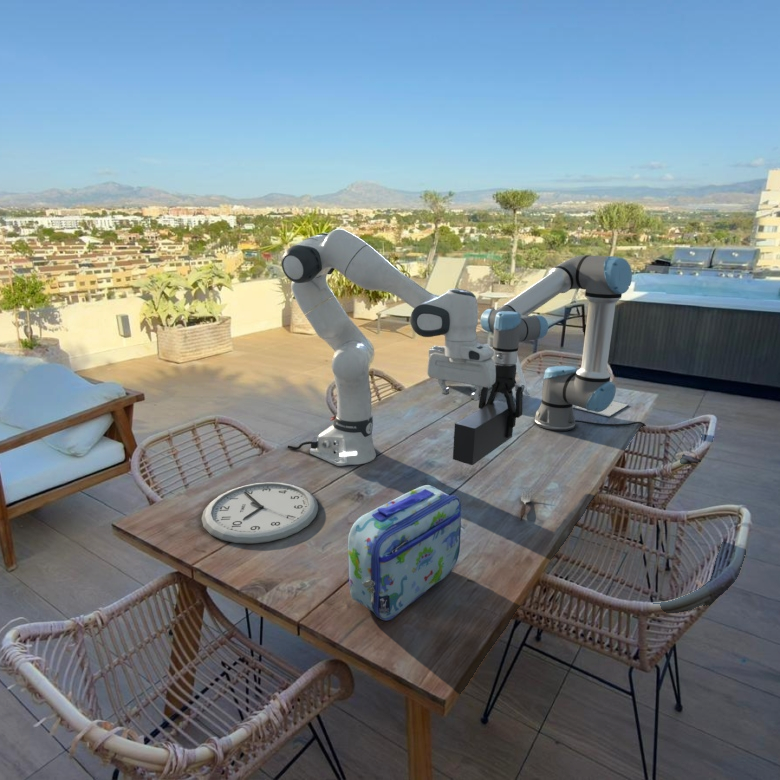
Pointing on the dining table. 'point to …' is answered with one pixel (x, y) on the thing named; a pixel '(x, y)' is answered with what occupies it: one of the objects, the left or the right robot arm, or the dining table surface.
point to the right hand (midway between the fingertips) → (498, 433)
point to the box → (480, 433)
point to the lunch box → (403, 549)
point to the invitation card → (608, 409)
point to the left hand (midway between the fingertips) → (459, 397)
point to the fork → (525, 500)
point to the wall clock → (259, 513)
